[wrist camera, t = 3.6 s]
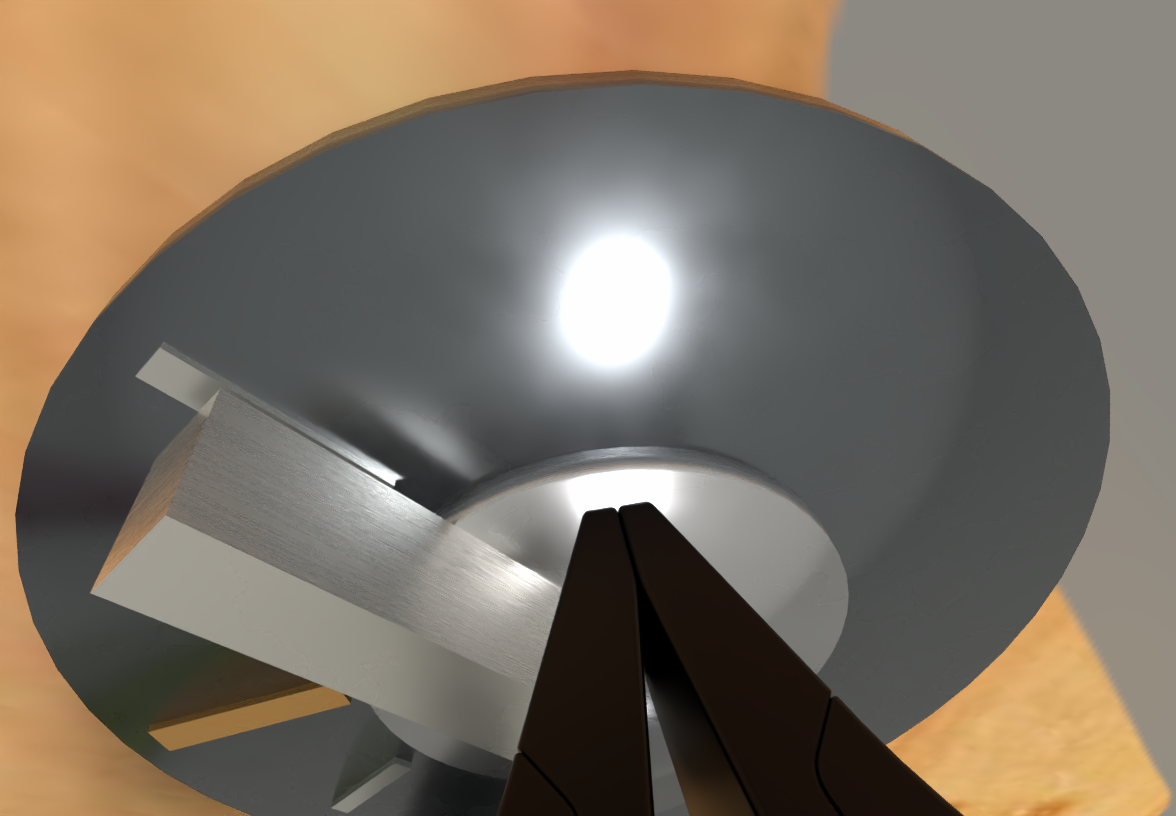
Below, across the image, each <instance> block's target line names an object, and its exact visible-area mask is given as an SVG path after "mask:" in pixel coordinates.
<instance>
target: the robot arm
mask: <svg viewBox="0 0 1176 816" xmlns="http://www.w3.org/2000/svg"><path fill="white" fill-rule="evenodd" d="M645 679H646V682H647V686H648V689H649V692H650V696H651V699H652V702H653V705H654V708H655V711H656V714H657V717H658V720H659V723H660V726H661V730H662V733H663V736H664V739H665V742H666V745H667V748H668V751H669V754H670V757H671V760H672V763H673V766H674V769H675V772H676V775H677V779H678V782H679V785H680V788H681V791H682V794H683V797H684V800H685V803H686V806H687V809H688V812H689V815H690V816H964V815H962V814H961V813H960V812H959V811H958V810H957V809H955V808H954V807H953V806H952V805H951V804H950V803H948V802H947V801H946V800H945V799H944V798H943V797H942V796H940V795H939V794H938V793H937V792H936V791H935V790H934V789H933V788H931V787H930V786H929V785H928V784H927V783H926V782H925V781H924V780H923V779H921V778H920V777H919V776H918V775H917V774H916V773H915V772H914V771H912V770H911V769H910V768H909V767H908V766H907V765H906V764H905V763H903V762H902V761H901V760H900V759H899V758H898V757H897V756H896V755H895V754H894V753H893V752H892V751H891V750H890V749H889V748H888V747H887V746H886V745H885V744H884V743H883V742H882V741H881V740H880V739H879V738H878V737H877V736H876V735H875V734H874V733H873V732H872V731H871V730H870V729H869V728H868V727H867V726H866V725H865V724H864V723H863V722H862V721H861V720H860V719H859V718H858V717H857V716H856V715H855V714H854V713H853V712H852V711H851V710H850V709H849V708H848V707H847V706H846V705H845V703H844V702H843V701H842V700H841V699H840V698H839V697H838V696H833V697H832V691H831V689H830V688H829V687H828V686H827V685H826V684H825V683H824V682H823V681H822V680H821V679H820V678H819V677H818V676H817V675H816V674H815V673H814V672H813V670H812V669H811V668H810V667H809V666H808V665H807V664H806V663H805V662H804V661H803V660H802V659H801V658H800V657H799V656H798V655H797V654H796V653H795V652H794V651H793V650H792V649H791V647H790V646H789V645H788V644H787V643H786V642H785V641H784V640H783V639H782V638H781V637H780V636H779V635H778V634H777V633H776V632H775V631H774V630H773V629H772V628H771V627H770V626H769V625H768V623H767V622H766V621H765V620H764V619H763V618H762V617H761V616H760V615H759V614H758V613H757V612H756V611H755V610H754V609H753V608H752V607H751V606H750V605H749V604H748V603H747V602H746V600H745V599H744V598H743V597H742V596H741V595H740V594H739V593H738V592H737V591H736V590H735V589H734V588H733V587H732V586H731V585H730V584H729V583H728V582H727V581H726V580H725V579H724V578H723V576H722V575H721V574H720V573H719V572H718V571H717V570H716V569H715V568H714V567H713V566H712V565H711V564H710V563H709V562H708V561H707V560H706V559H705V558H704V557H703V556H702V555H701V553H700V552H699V551H698V550H697V549H696V548H695V547H694V546H693V545H692V544H691V543H690V542H689V541H688V540H687V539H686V538H685V537H684V536H683V535H682V534H681V533H680V532H679V531H678V529H677V528H676V527H675V526H674V525H673V524H672V523H671V522H670V521H669V520H668V519H667V518H666V517H665V516H664V515H663V514H662V513H661V512H660V511H659V510H658V509H657V508H656V506H654V505H653V504H652V503H651V502H648V501H642V502H636V503H630V504H623V505H621V506H620V507H619V508H618V511H617V509H616V508H615V507H605V508H599V509H593V510H587V511H586V512H585V513H584V514H583V516H582V519H581V523H580V526H579V530H578V533H577V537H576V540H575V544H574V547H573V551H572V554H571V558H570V562H569V565H568V569H567V572H566V576H565V579H564V583H563V586H562V590H561V593H560V597H559V601H558V604H557V608H556V611H555V615H554V618H553V622H552V625H551V629H550V632H549V636H548V640H547V643H546V647H545V650H544V654H543V657H542V661H541V664H540V668H539V671H538V675H537V679H536V682H535V686H534V689H533V693H532V696H531V700H530V703H529V707H528V710H527V714H526V718H525V721H524V725H523V728H522V732H521V735H520V739H519V742H518V746H517V750H518V753H516V754H515V756H514V759H513V762H512V766H511V769H510V773H509V776H508V780H507V783H506V787H505V790H504V793H503V796H502V800H501V803H500V806H499V809H498V812H497V815H496V816H655V813H654V799H653V785H652V771H651V757H650V743H649V729H648V715H647V701H646V687H645ZM831 697H832V698H831Z"/></svg>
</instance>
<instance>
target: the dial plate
mask: <svg viewBox="0 0 1176 816" xmlns="http://www.w3.org/2000/svg"><path fill="white" fill-rule="evenodd" d="M220 388H222V389H223V390H225V391H227V392H228V393H230V394H232V395H234V396H235V397H237V398H239V399H240V400H242V401H244V402H245V403H247V404H249V405H251V406H252V407H254V408H256V409H257V410H259V411H261V412H262V413H264V414H266V415H268V416H269V417H271V418H273V419H274V420H276V421H278V422H280V423H281V424H283V425H285V426H286V427H288V428H290V429H291V430H293V431H295V432H297V433H298V434H300V435H302V436H303V437H305V438H307V439H308V440H310V441H312V442H314V443H315V444H317V445H319V446H320V447H322V448H324V449H326V450H327V451H329V452H331V453H332V454H334V455H336V456H337V457H339V458H341V459H343V460H344V461H346V462H348V463H349V464H351V465H353V466H354V467H356V468H358V469H360V470H361V471H363V472H365V473H366V474H368V475H370V476H371V477H373V478H375V479H377V480H378V481H380V482H382V483H383V484H385V485H387V486H389V487H390V488H392V489H394V490H395V491H397V492H399V493H400V494H402V495H404V496H406V497H407V498H409V499H411V500H412V501H414V502H416V503H417V504H419V505H421V506H423V507H424V508H426V509H428V510H429V511H431V512H435V511H436V510H437V509H439V508H440V507H441V506H443V505H444V504H445V503H447V502H448V501H450V500H452V499H454V498H455V497H457V496H459V495H461V494H462V493H464V492H466V491H468V490H469V489H471V488H473V487H474V486H476V485H478V484H481V483H483V482H485V481H487V480H490V479H492V478H494V477H497V476H499V475H501V474H503V473H506V472H508V471H510V470H513V469H517V468H520V467H523V466H526V465H529V464H532V463H535V462H538V461H541V460H545V459H549V458H553V457H558V456H563V455H567V454H572V453H577V452H581V451H588V450H597V449H606V448H615V447H668V448H678V449H688V450H695V451H700V452H705V453H709V454H714V455H718V456H723V457H727V458H729V459H732V460H735V461H738V462H741V463H744V464H746V465H749V466H752V467H754V468H756V469H758V470H760V471H762V472H764V473H766V474H768V475H770V476H772V477H774V478H776V479H778V480H779V481H780V482H782V483H783V484H785V485H786V486H787V487H789V488H790V489H791V490H793V491H794V492H795V493H797V494H798V495H799V496H800V497H801V498H802V499H803V500H804V501H805V502H806V503H807V504H808V505H809V507H810V508H811V509H812V510H813V511H814V512H815V513H816V515H817V517H818V518H819V520H820V521H821V523H822V525H823V526H824V528H825V529H826V531H827V533H828V535H829V537H830V539H831V540H832V542H833V544H834V546H835V548H836V550H837V552H838V553H839V555H840V558H841V561H842V564H843V567H844V569H845V572H846V576H847V584H848V592H849V597H848V609H847V616H846V619H845V623H844V626H843V630H842V633H841V635H840V637H839V639H838V642H837V644H836V646H835V648H834V650H833V652H832V654H831V655H830V657H829V658H828V660H827V661H826V663H825V664H824V666H823V667H822V669H821V670H820V671H819V672H818V673H817V676H818V677H819V678H820V679H821V680H822V681H823V682H824V683H825V684H826V685H827V686H828V687H829V688H830V689H831V691H832V697H833V696H838V697H839V698H840V699H841V700H842V701H843V702H844V703H845V705H846V706H847V707H848V708H849V709H850V710H851V711H852V712H853V713H854V714H855V715H856V716H857V717H858V718H859V719H860V720H861V721H862V722H863V723H864V724H865V725H866V726H867V727H868V728H869V729H870V730H871V731H872V732H873V733H874V734H875V735H876V736H877V737H878V738H879V739H880V740H881V741H882V742H883V743H884V744H885V745H886V744H888V743H889V742H891V741H893V740H894V739H896V738H897V737H899V736H900V735H902V734H903V733H905V732H906V731H908V730H909V729H911V728H912V727H914V726H915V725H916V724H918V723H919V722H921V721H922V720H924V719H925V718H927V717H928V716H930V715H931V714H933V713H934V712H935V711H936V710H938V709H939V708H940V707H941V706H943V705H944V704H945V703H946V702H948V701H949V700H950V699H951V698H953V697H954V696H955V695H956V694H958V693H959V692H960V691H961V690H963V689H964V688H965V687H966V686H968V685H969V684H970V683H971V682H972V681H973V680H974V679H975V678H976V677H977V676H978V675H979V674H980V673H982V672H983V671H984V670H985V669H986V668H987V667H988V666H989V665H990V664H991V663H992V662H993V661H994V660H995V659H996V658H997V657H998V656H999V655H1000V654H1002V653H1003V652H1004V650H1005V649H1006V648H1007V647H1008V646H1009V645H1010V644H1011V642H1012V641H1013V640H1014V639H1015V638H1016V637H1017V636H1018V634H1019V633H1020V632H1021V631H1022V630H1023V629H1024V628H1025V626H1026V625H1027V624H1028V623H1029V622H1030V621H1031V619H1032V618H1033V617H1034V616H1035V615H1036V613H1037V612H1038V610H1039V609H1040V607H1041V606H1042V605H1043V603H1044V602H1045V600H1046V599H1047V597H1048V596H1049V595H1050V593H1051V592H1052V590H1053V589H1054V587H1055V586H1056V584H1057V583H1058V582H1059V580H1060V579H1061V577H1062V575H1063V574H1064V572H1065V570H1066V568H1067V566H1068V564H1069V562H1070V560H1071V559H1072V557H1073V555H1074V553H1075V551H1076V549H1077V547H1078V545H1079V543H1080V542H1081V540H1082V538H1083V536H1084V534H1085V531H1086V528H1087V525H1088V523H1089V520H1090V517H1091V514H1092V512H1093V509H1094V506H1095V503H1096V500H1097V498H1098V495H1099V492H1100V489H1101V484H1102V479H1103V473H1104V468H1105V463H1106V458H1107V453H1108V447H1109V442H1110V389H1109V384H1108V379H1107V373H1106V368H1105V363H1104V358H1103V353H1102V347H1101V342H1100V338H1099V336H1098V334H1097V331H1096V329H1095V327H1094V324H1093V322H1092V320H1091V317H1090V315H1089V312H1088V310H1087V308H1086V305H1085V303H1084V301H1083V298H1082V296H1081V294H1080V291H1079V289H1078V287H1077V285H1076V284H1075V283H1074V281H1073V280H1072V278H1071V277H1070V276H1069V274H1068V273H1067V271H1066V270H1065V268H1064V267H1063V266H1062V264H1061V263H1060V261H1059V260H1058V259H1057V257H1056V256H1055V254H1054V253H1053V252H1052V250H1051V249H1050V247H1049V246H1048V244H1047V243H1046V241H1045V240H1044V239H1043V237H1042V236H1041V235H1040V234H1039V233H1038V232H1037V231H1036V230H1035V229H1033V228H1032V227H1031V226H1030V225H1029V224H1028V223H1027V222H1026V221H1025V220H1024V219H1023V218H1022V217H1021V216H1020V215H1018V214H1017V213H1016V212H1015V211H1014V210H1013V209H1012V208H1011V207H1010V206H1009V205H1008V204H1007V203H1006V202H1004V201H1003V200H1002V199H1001V198H1000V197H999V196H998V195H997V194H996V193H995V192H994V191H993V190H992V189H990V188H989V187H987V186H986V185H984V184H983V183H981V182H980V181H978V180H976V179H975V178H973V177H971V176H970V175H969V174H967V173H965V172H964V171H962V170H961V169H959V168H958V167H956V166H955V165H953V164H951V163H950V162H948V161H947V160H945V159H943V158H942V157H940V156H939V155H937V154H935V153H934V152H932V151H931V150H929V149H928V148H926V147H924V146H923V145H921V144H920V143H918V142H916V141H915V140H913V139H912V138H910V137H908V136H907V135H905V134H904V133H902V132H900V131H899V130H896V129H894V128H892V127H889V126H887V125H884V124H882V123H880V122H877V121H875V120H872V119H870V118H867V117H865V116H862V115H860V114H857V113H855V112H853V111H850V110H848V109H845V108H843V107H840V106H838V105H835V104H833V103H831V102H828V101H826V100H823V99H821V98H816V97H812V96H808V95H803V94H799V93H795V92H790V91H786V90H782V89H777V88H773V87H769V86H764V85H760V84H756V83H752V82H747V81H743V80H739V79H734V78H727V77H714V76H701V75H688V74H675V73H662V72H650V71H637V70H630V71H615V72H599V73H584V74H568V75H553V76H538V77H528V78H523V79H519V80H514V81H509V82H504V83H499V84H494V85H490V86H485V87H480V88H475V89H470V90H466V91H461V92H456V93H451V94H446V95H441V96H437V97H432V98H428V99H425V100H422V101H419V102H417V103H414V104H411V105H408V106H405V107H403V108H400V109H397V110H394V111H391V112H389V113H386V114H383V115H380V116H378V117H375V118H372V119H369V120H366V121H364V122H361V123H358V124H355V125H352V126H350V127H347V128H344V129H341V130H339V131H336V132H333V133H331V134H329V135H327V136H325V137H323V138H321V139H320V140H318V141H316V142H314V143H312V144H310V145H308V146H306V147H305V148H303V149H301V150H299V151H297V152H295V153H293V154H291V155H290V156H288V157H286V158H284V159H282V160H280V161H278V162H276V163H275V164H273V165H271V166H269V167H267V168H265V169H263V170H261V171H260V172H258V173H256V174H254V175H252V176H250V177H248V178H246V179H245V180H243V181H242V182H241V183H239V184H238V185H237V186H235V187H234V188H233V189H231V190H230V191H229V192H227V193H226V194H225V195H223V196H222V197H221V198H219V199H218V200H217V201H215V202H214V203H213V204H211V205H210V206H209V207H207V208H206V209H205V210H203V211H202V212H201V213H199V214H198V215H197V216H195V217H194V218H193V219H191V220H190V221H189V222H187V223H186V224H185V225H183V226H182V227H181V228H179V229H178V230H177V231H175V232H174V233H173V234H172V235H171V236H170V237H169V238H168V239H167V240H166V241H165V242H164V243H163V244H162V245H161V246H160V247H159V248H158V249H157V250H156V251H155V253H154V254H153V255H152V256H151V257H150V258H149V259H148V260H147V261H146V262H145V263H144V264H143V265H142V266H141V267H140V268H139V269H138V270H137V271H136V272H135V274H134V275H133V276H132V277H131V278H130V279H129V280H128V281H127V282H126V283H125V284H124V285H123V286H122V287H121V288H120V289H119V290H118V291H117V292H116V293H115V295H114V296H113V297H112V299H111V300H110V301H109V303H108V304H107V305H106V306H105V308H104V309H103V310H102V312H101V313H100V314H99V316H98V317H97V318H96V320H95V321H94V322H93V324H92V325H91V327H90V328H89V330H88V332H87V333H86V335H85V336H84V338H83V339H82V341H81V342H80V344H79V345H78V347H77V348H76V350H75V351H74V353H73V355H72V356H71V358H70V359H69V361H68V362H67V364H66V365H65V367H64V368H63V370H62V371H61V373H60V374H59V376H58V377H57V379H56V381H55V382H54V384H53V385H52V387H51V389H50V391H49V394H48V396H47V399H46V401H45V404H44V406H43V409H42V411H41V414H40V416H39V419H38V421H37V424H36V426H35V429H34V432H33V434H32V437H31V439H30V442H29V444H28V447H27V449H26V452H25V457H24V463H23V470H22V476H21V482H20V488H19V494H18V501H17V507H16V513H15V517H16V533H17V549H18V565H19V573H20V577H21V581H22V584H23V588H24V591H25V595H26V598H27V602H28V605H29V609H30V612H31V616H32V619H33V623H34V625H35V627H36V629H37V631H38V633H39V634H40V636H41V638H42V640H43V642H44V644H45V646H46V648H47V650H48V652H49V654H50V656H51V658H52V660H53V661H54V663H55V665H56V667H57V669H58V671H59V672H60V673H61V674H62V676H63V677H64V678H65V680H66V681H67V682H68V684H69V685H70V686H71V687H72V689H73V690H74V691H75V693H76V694H77V695H78V697H79V698H80V699H81V700H82V702H83V703H84V704H85V706H86V707H87V708H88V709H89V710H90V711H91V712H92V713H93V714H94V715H95V716H96V717H97V718H98V719H99V720H100V721H101V722H102V723H103V724H104V725H105V726H106V727H107V728H109V729H110V730H111V731H112V732H113V733H114V734H115V735H116V736H117V737H118V738H119V739H120V740H121V741H122V742H123V743H124V744H126V745H127V746H128V747H130V748H131V749H133V750H134V751H135V752H137V753H138V754H139V755H141V756H142V757H144V758H145V759H146V760H148V761H149V762H151V763H152V764H153V765H155V766H156V767H158V768H159V769H160V770H162V771H163V772H165V773H166V774H168V775H170V776H171V777H173V778H175V779H177V780H179V781H181V782H182V783H184V784H186V785H188V786H190V787H191V788H193V789H195V790H197V791H199V792H200V793H202V794H204V795H206V796H208V797H210V798H212V799H214V800H217V801H219V802H221V803H224V804H226V805H228V806H231V807H233V808H235V809H238V810H240V811H242V812H245V813H247V814H249V815H252V816H496V815H497V812H498V809H499V806H500V803H501V800H502V796H503V793H504V790H505V787H506V783H507V780H508V779H502V778H495V777H490V776H486V775H481V774H476V773H472V772H469V771H465V770H462V769H459V768H456V767H453V766H449V765H447V764H445V763H442V762H440V761H438V760H435V759H433V758H431V757H429V756H427V755H425V754H423V753H421V752H420V751H418V750H416V749H415V748H413V747H411V746H409V745H408V744H407V743H405V742H404V741H403V740H402V739H400V738H399V737H398V736H396V735H395V734H394V733H393V732H391V731H390V729H389V728H388V727H387V726H386V725H385V724H384V723H383V722H382V721H381V720H380V719H379V717H378V716H377V715H376V713H375V712H374V710H373V708H372V707H371V705H370V704H368V703H366V702H363V701H361V700H358V699H355V698H353V697H350V696H348V695H345V694H343V693H340V692H338V691H335V690H333V689H330V688H328V687H325V686H323V685H320V684H318V683H315V682H313V681H310V680H308V679H305V678H303V677H300V676H298V675H295V674H293V673H290V672H288V671H285V670H282V669H280V668H277V667H275V666H272V665H270V664H267V663H265V662H262V661H260V660H257V659H255V658H252V657H250V656H247V655H245V654H242V653H240V652H237V651H235V650H232V649H230V648H227V647H225V646H222V645H220V644H217V643H215V642H212V641H210V640H207V639H204V638H202V637H199V636H197V635H194V634H192V633H189V632H187V631H184V630H182V629H179V628H177V627H174V626H172V625H169V624H167V623H164V622H162V621H159V620H157V619H154V618H152V617H149V616H147V615H144V614H142V613H139V612H137V611H134V610H131V609H129V608H126V607H124V606H121V605H119V604H116V603H114V602H111V601H109V600H106V599H104V598H101V597H99V596H96V595H94V594H91V593H90V592H91V590H92V588H93V586H94V584H95V582H96V580H97V578H98V576H99V574H100V572H101V569H102V567H103V565H104V563H105V561H106V559H107V557H108V555H109V553H110V551H111V549H112V547H113V545H114V543H115V541H116V539H117V537H118V535H119V533H120V530H121V528H122V526H123V524H124V522H125V520H126V518H127V516H128V514H129V512H130V510H131V508H132V506H133V504H134V502H135V500H136V498H137V496H138V494H139V492H140V489H141V487H142V485H143V483H144V481H145V479H146V477H147V475H148V473H149V471H150V469H151V467H152V465H153V463H154V461H155V459H156V457H157V456H158V455H159V454H160V453H161V452H162V451H163V450H164V449H165V447H166V446H167V445H168V444H169V443H170V442H171V441H172V440H173V439H174V438H175V437H176V436H177V434H178V433H179V432H180V431H181V430H182V429H183V428H184V427H185V426H186V425H187V424H188V423H189V421H190V420H191V419H192V418H193V417H194V416H195V415H196V414H197V413H198V412H199V411H200V410H201V408H202V407H203V406H204V405H205V404H206V403H207V402H208V401H209V400H210V399H211V398H212V397H213V395H214V394H215V393H216V392H217V391H218V390H219V389H220ZM832 697H831V698H832ZM655 816H690V815H689V812H688V809H687V806H686V803H683V804H681V805H678V806H676V807H674V808H671V809H669V810H666V811H663V812H660V813H656V814H655Z"/></svg>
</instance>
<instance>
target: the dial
mask: <svg viewBox="0 0 1176 816" xmlns="http://www.w3.org/2000/svg"><path fill="white" fill-rule="evenodd" d="M642 501H648V502H651V503H652V504H653V505H654V506H656V508H657V509H658V510H659V511H660V512H661V513H662V514H663V515H664V516H665V517H666V518H667V519H668V520H669V521H670V522H671V523H672V524H673V525H674V526H675V527H676V528H677V529H678V531H679V532H680V533H681V534H682V535H683V536H684V537H685V538H686V539H687V540H688V541H689V542H690V543H691V544H692V545H693V546H694V547H695V548H696V549H697V550H698V551H699V552H700V553H701V555H702V556H703V557H704V558H705V559H706V560H707V561H708V562H709V563H710V564H711V565H712V566H713V567H714V568H715V569H716V570H717V571H718V572H719V573H720V574H721V575H722V576H723V578H724V579H725V580H726V581H727V582H728V583H729V584H730V585H731V586H732V587H733V588H734V589H735V590H736V591H737V592H738V593H739V594H740V595H741V596H742V597H743V598H744V599H745V600H746V602H747V603H748V604H749V605H750V606H751V607H752V608H753V609H754V610H755V611H756V612H757V613H758V614H759V615H760V616H761V617H762V618H763V619H764V620H765V621H766V622H767V623H768V625H769V626H770V627H771V628H772V629H773V630H774V631H775V632H776V633H777V634H778V635H779V636H780V637H781V638H782V639H783V640H784V641H785V642H786V643H787V644H788V645H789V646H790V647H791V649H792V650H793V651H794V652H795V653H796V654H797V655H798V656H799V657H800V658H801V659H802V660H803V661H804V662H805V663H806V664H807V665H808V666H809V667H810V668H811V669H812V670H813V672H814V673H815V674H816V675H817V673H818V672H819V671H820V670H821V669H822V667H823V666H824V664H825V663H826V661H827V660H828V658H829V657H830V655H831V654H832V652H833V650H834V648H835V646H836V644H837V642H838V639H839V637H840V635H841V633H842V630H843V626H844V623H845V619H846V616H847V609H848V597H849V592H848V584H847V576H846V572H845V569H844V567H843V564H842V561H841V558H840V555H839V553H838V552H837V550H836V548H835V546H834V544H833V542H832V540H831V539H830V537H829V535H828V533H827V531H826V529H825V528H824V526H823V525H822V523H821V521H820V520H819V518H818V517H817V515H816V513H815V512H814V511H813V510H812V509H811V508H810V507H809V505H808V504H807V503H806V502H805V501H804V500H803V499H802V498H801V497H800V496H799V495H798V494H797V493H795V492H794V491H793V490H791V489H790V488H789V487H787V486H786V485H785V484H783V483H782V482H780V481H779V480H778V479H776V478H774V477H772V476H770V475H768V474H766V473H764V472H762V471H760V470H758V469H756V468H754V467H752V466H749V465H746V464H744V463H741V462H738V461H735V460H732V459H729V458H727V457H723V456H718V455H714V454H709V453H705V452H700V451H695V450H688V449H678V448H668V447H615V448H606V449H597V450H588V451H581V452H577V453H572V454H567V455H563V456H558V457H553V458H549V459H545V460H541V461H538V462H535V463H532V464H529V465H526V466H523V467H520V468H517V469H513V470H510V471H508V472H506V473H503V474H501V475H499V476H497V477H494V478H492V479H490V480H487V481H485V482H483V483H481V484H478V485H476V486H474V487H473V488H471V489H469V490H468V491H466V492H464V493H462V494H461V495H459V496H457V497H455V498H454V499H452V500H450V501H448V502H447V503H445V504H444V505H443V506H441V507H440V508H439V509H437V510H436V511H435V512H431V511H429V510H428V509H426V508H424V507H423V506H421V505H419V504H417V503H416V502H414V501H412V500H411V499H409V498H407V497H406V496H404V495H402V494H400V493H399V492H397V491H395V490H394V489H392V488H390V487H389V486H387V485H385V484H383V483H382V482H380V481H378V480H377V479H375V478H373V477H371V476H370V475H368V474H366V473H365V472H363V471H361V470H360V469H358V468H356V467H354V466H353V465H351V464H349V463H348V462H346V461H344V460H343V459H341V458H339V457H337V456H336V455H334V454H332V453H331V452H329V451H327V450H326V449H324V448H322V447H320V446H319V445H317V444H315V443H314V442H312V441H310V440H308V439H307V438H305V437H303V436H302V435H300V434H298V433H297V432H295V431H293V430H291V429H290V428H288V427H286V426H285V425H283V424H281V423H280V422H278V421H276V420H274V419H273V418H271V417H269V416H268V415H266V414H264V413H262V412H261V411H259V410H257V409H256V408H254V407H252V406H251V405H249V404H247V403H245V402H244V401H242V400H240V399H239V398H237V397H235V396H234V395H232V394H230V393H228V392H227V391H225V390H223V389H222V388H220V389H219V390H218V391H217V392H216V393H215V394H214V395H213V397H212V398H211V399H210V400H209V401H208V402H207V403H206V404H205V405H204V406H203V407H202V408H201V410H200V411H199V412H198V413H197V414H196V415H195V416H194V417H193V418H192V419H191V420H190V421H189V423H188V424H187V425H186V426H185V427H184V428H183V429H182V430H181V431H180V432H179V433H178V434H177V436H176V437H175V438H174V439H173V440H172V441H171V442H170V443H169V444H168V445H167V446H166V447H165V449H164V450H163V451H162V452H161V453H160V454H159V455H158V456H157V457H156V459H155V461H154V463H153V465H152V467H151V469H150V471H149V473H148V475H147V477H146V479H145V481H144V483H143V485H142V487H141V489H140V492H139V494H138V496H137V498H136V500H135V502H134V504H133V506H132V508H131V510H130V512H129V514H128V516H127V518H126V520H125V522H124V524H123V526H122V528H121V530H120V533H119V535H118V537H117V539H116V541H115V543H114V545H113V547H112V549H111V551H110V553H109V555H108V557H107V559H106V561H105V563H104V565H103V567H102V569H101V572H100V574H99V576H98V578H97V580H96V582H95V584H94V586H93V588H92V590H91V592H90V593H91V594H94V595H96V596H99V597H101V598H104V599H106V600H109V601H111V602H114V603H116V604H119V605H121V606H124V607H126V608H129V609H131V610H134V611H137V612H139V613H142V614H144V615H147V616H149V617H152V618H154V619H157V620H159V621H162V622H164V623H167V624H169V625H172V626H174V627H177V628H179V629H182V630H184V631H187V632H189V633H192V634H194V635H197V636H199V637H202V638H204V639H207V640H210V641H212V642H215V643H217V644H220V645H222V646H225V647H227V648H230V649H232V650H235V651H237V652H240V653H242V654H245V655H247V656H250V657H252V658H255V659H257V660H260V661H262V662H265V663H267V664H270V665H272V666H275V667H277V668H280V669H282V670H285V671H288V672H290V673H293V674H295V675H298V676H300V677H303V678H305V679H308V680H310V681H313V682H315V683H318V684H320V685H323V686H325V687H328V688H330V689H333V690H335V691H338V692H340V693H343V694H345V695H348V696H350V697H353V698H355V699H358V700H361V701H363V702H366V703H368V704H370V705H371V707H372V708H373V710H374V712H375V713H376V715H377V716H378V717H379V719H380V720H381V721H382V722H383V723H384V724H385V725H386V726H387V727H388V728H389V729H390V731H391V732H393V733H394V734H395V735H396V736H398V737H399V738H400V739H402V740H403V741H404V742H405V743H407V744H408V745H409V746H411V747H413V748H415V749H416V750H418V751H420V752H421V753H423V754H425V755H427V756H429V757H431V758H433V759H435V760H438V761H440V762H442V763H445V764H447V765H449V766H453V767H456V768H459V769H462V770H465V771H469V772H472V773H476V774H481V775H486V776H490V777H495V778H502V779H508V776H509V773H510V769H511V766H512V762H513V759H514V756H515V754H516V753H518V750H517V746H518V742H519V739H520V735H521V732H522V728H523V725H524V721H525V718H526V714H527V710H528V707H529V703H530V700H531V696H532V693H533V689H534V686H535V682H536V679H537V675H538V671H539V668H540V664H541V661H542V657H543V654H544V650H545V647H546V643H547V640H548V636H549V632H550V629H551V625H552V622H553V618H554V615H555V611H556V608H557V604H558V601H559V597H560V593H561V590H562V586H563V583H564V579H565V576H566V572H567V569H568V565H569V562H570V558H571V554H572V551H573V547H574V544H575V540H576V537H577V533H578V530H579V526H580V523H581V519H582V516H583V514H584V513H585V512H586V511H587V510H593V509H599V508H605V507H615V508H616V509H617V511H618V508H619V507H620V506H621V505H623V504H630V503H636V502H642ZM645 687H646V701H647V715H648V729H649V743H650V757H651V771H652V785H653V799H654V813H655V814H656V813H660V812H663V811H666V810H669V809H671V808H674V807H676V806H678V805H681V804H683V803H685V800H684V797H683V794H682V791H681V788H680V785H679V782H678V779H677V775H676V772H675V769H674V766H673V763H672V760H671V757H670V754H669V751H668V748H667V745H666V742H665V739H664V736H663V733H662V730H661V726H660V723H659V720H658V717H657V714H656V711H655V708H654V705H653V702H652V699H651V696H650V692H649V689H648V686H647V682H646V679H645Z"/></svg>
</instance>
